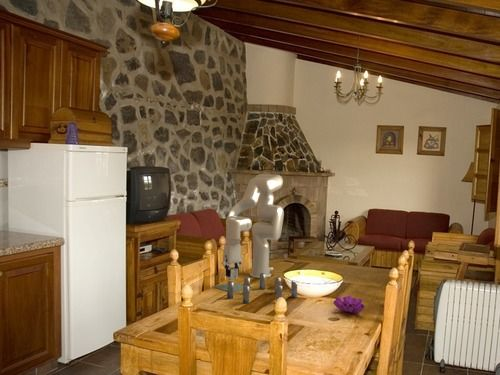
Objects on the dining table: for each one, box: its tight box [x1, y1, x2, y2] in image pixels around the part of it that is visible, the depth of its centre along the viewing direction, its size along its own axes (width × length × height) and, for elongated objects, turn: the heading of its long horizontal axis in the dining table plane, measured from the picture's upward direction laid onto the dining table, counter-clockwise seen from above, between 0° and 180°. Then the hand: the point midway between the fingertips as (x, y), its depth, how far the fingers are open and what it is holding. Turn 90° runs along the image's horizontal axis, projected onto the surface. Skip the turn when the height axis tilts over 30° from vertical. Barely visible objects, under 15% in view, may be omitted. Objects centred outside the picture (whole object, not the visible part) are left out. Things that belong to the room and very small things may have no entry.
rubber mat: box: [213, 282, 251, 294], centre depth 247 cm, size 14×14×1 cm
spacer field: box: [226, 273, 298, 305], centre depth 230 cm, size 27×24×8 cm
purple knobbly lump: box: [333, 295, 366, 314], centre depth 212 cm, size 11×15×10 cm
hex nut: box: [225, 266, 239, 280], centre depth 246 cm, size 6×6×5 cm
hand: (232, 275), depth 246 cm, fingers closed on hex nut, 5 cm apart
